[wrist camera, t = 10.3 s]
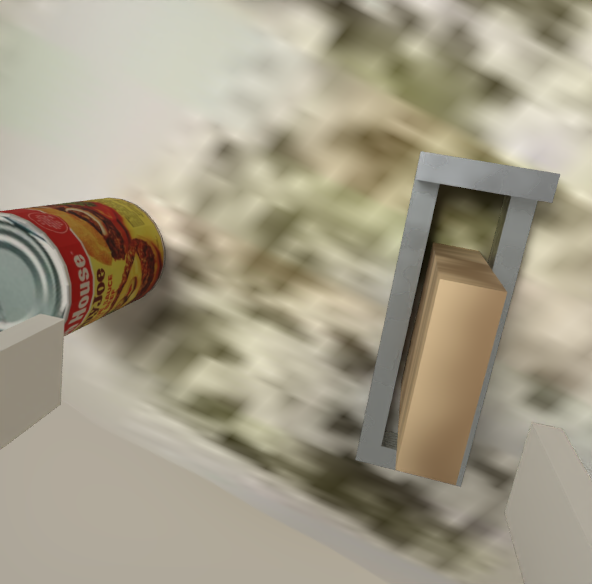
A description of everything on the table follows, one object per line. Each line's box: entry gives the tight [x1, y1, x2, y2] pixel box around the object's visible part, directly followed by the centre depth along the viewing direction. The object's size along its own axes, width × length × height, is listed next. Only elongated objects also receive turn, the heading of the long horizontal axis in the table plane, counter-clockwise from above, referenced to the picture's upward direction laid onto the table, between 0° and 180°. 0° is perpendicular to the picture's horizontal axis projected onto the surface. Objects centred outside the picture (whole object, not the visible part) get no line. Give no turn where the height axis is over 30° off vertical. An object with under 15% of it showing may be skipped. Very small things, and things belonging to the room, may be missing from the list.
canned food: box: [0, 198, 165, 336], centre depth 36 cm, size 8×8×12 cm
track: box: [356, 151, 560, 487], centre depth 35 cm, size 7×21×6 cm, turn 171°
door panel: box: [395, 243, 507, 485], centre depth 33 cm, size 3×10×12 cm, turn 171°
